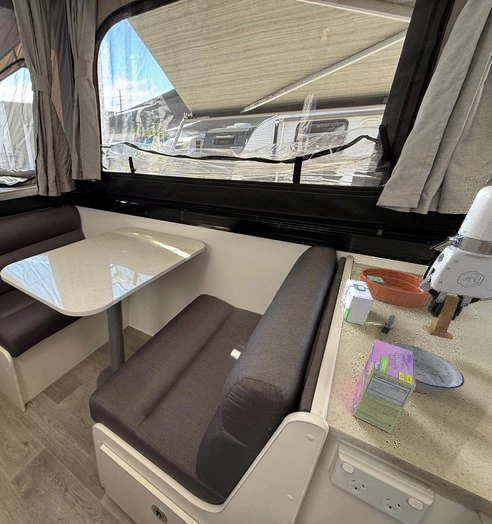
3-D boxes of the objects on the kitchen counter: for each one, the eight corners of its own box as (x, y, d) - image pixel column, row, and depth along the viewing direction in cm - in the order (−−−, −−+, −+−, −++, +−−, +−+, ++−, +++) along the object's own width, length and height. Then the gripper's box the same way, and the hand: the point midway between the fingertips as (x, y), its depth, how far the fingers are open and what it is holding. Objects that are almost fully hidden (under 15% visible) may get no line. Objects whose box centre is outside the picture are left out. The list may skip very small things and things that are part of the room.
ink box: (344, 321, 78) (339, 302, 87) (365, 326, 75) (358, 305, 85) (352, 295, 74) (346, 278, 84) (375, 299, 72) (366, 281, 82)
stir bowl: (413, 287, 95) (419, 273, 93) (436, 314, 80) (445, 298, 78) (351, 277, 102) (355, 264, 100) (362, 300, 88) (367, 285, 85)
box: (357, 381, 58) (375, 338, 53) (391, 396, 55) (415, 351, 50) (350, 415, 51) (371, 368, 46) (389, 434, 48) (416, 387, 43)
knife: (372, 336, 72) (386, 341, 70) (372, 333, 72) (387, 338, 69) (382, 313, 81) (396, 316, 79) (383, 311, 81) (396, 314, 79)
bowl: (442, 416, 51) (454, 398, 49) (363, 371, 61) (370, 355, 59) (462, 385, 57) (473, 368, 55) (387, 350, 67) (394, 334, 65)
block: (377, 287, 94) (381, 277, 92) (380, 292, 91) (384, 282, 89) (363, 285, 96) (366, 275, 94) (365, 290, 92) (369, 280, 91)
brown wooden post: (442, 332, 67) (457, 295, 64) (452, 339, 63) (468, 300, 61) (421, 328, 68) (435, 291, 66) (429, 334, 65) (444, 296, 62)
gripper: (437, 245, 58) (403, 315, 66) (548, 257, 52) (497, 334, 59) (423, 235, 64) (393, 300, 72) (521, 245, 58) (477, 316, 65)
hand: (440, 315), depth 65 cm, fingers closed on brown wooden post, 2 cm apart
